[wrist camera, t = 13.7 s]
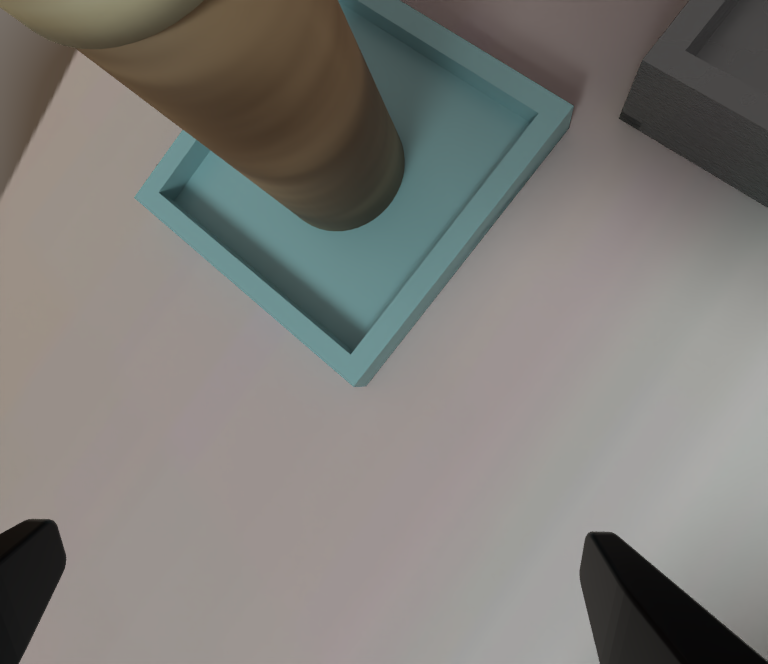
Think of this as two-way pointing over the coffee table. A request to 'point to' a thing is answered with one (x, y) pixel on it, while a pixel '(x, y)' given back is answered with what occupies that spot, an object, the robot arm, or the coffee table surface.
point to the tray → (404, 214)
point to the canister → (250, 91)
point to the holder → (710, 91)
